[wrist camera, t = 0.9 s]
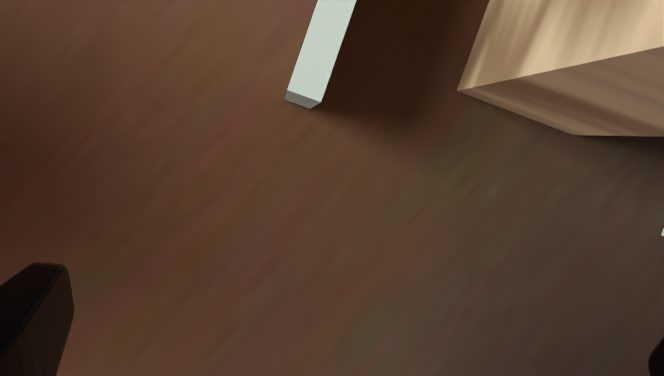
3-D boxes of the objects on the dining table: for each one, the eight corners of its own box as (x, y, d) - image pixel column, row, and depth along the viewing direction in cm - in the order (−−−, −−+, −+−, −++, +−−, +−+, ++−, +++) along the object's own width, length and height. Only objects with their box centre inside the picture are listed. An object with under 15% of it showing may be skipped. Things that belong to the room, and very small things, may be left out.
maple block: (573, 135, 22) (929, 141, 10) (456, 90, 21) (688, 41, 9) (620, 11, 22) (1045, -135, 10) (503, -38, 21) (803, -259, 9)
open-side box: (682, 243, 23) (795, 274, 18) (284, 99, 21) (287, 89, 16) (773, 12, 22) (917, -21, 17) (373, -160, 20) (405, -257, 15)
